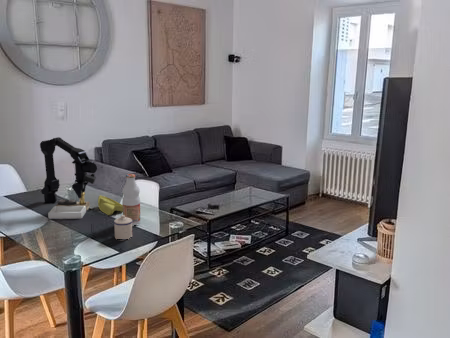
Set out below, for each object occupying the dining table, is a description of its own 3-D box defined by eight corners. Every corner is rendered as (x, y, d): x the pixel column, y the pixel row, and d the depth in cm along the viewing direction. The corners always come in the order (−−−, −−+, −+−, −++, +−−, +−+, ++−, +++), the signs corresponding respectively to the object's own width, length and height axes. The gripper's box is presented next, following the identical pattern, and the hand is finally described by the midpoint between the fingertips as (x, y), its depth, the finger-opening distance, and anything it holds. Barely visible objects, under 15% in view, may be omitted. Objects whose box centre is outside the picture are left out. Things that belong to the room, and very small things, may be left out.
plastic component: (128, 208, 244) (114, 204, 236) (123, 219, 243) (109, 216, 236) (110, 198, 257) (97, 194, 249) (105, 209, 256) (92, 205, 249)
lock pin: (78, 209, 245) (77, 193, 243) (79, 207, 249) (79, 191, 247) (85, 209, 246) (84, 193, 243) (86, 207, 250) (85, 191, 247)
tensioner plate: (55, 210, 242) (55, 202, 241) (59, 206, 250) (59, 198, 248) (86, 210, 244) (86, 202, 243) (89, 206, 252) (89, 198, 250)
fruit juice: (119, 224, 224) (118, 175, 218) (132, 219, 231) (131, 172, 225) (131, 228, 219) (129, 178, 212) (144, 223, 226) (143, 174, 220)
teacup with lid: (136, 237, 207) (135, 215, 204) (121, 242, 200) (120, 220, 197) (122, 231, 215) (122, 210, 212) (107, 235, 208) (106, 214, 205)
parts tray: (48, 218, 228) (48, 213, 227) (54, 211, 240) (54, 206, 239) (81, 218, 230) (81, 212, 230) (86, 211, 242) (85, 206, 241)
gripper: (91, 175, 234) (92, 200, 238) (97, 167, 252) (98, 191, 256) (71, 174, 233) (72, 200, 236) (78, 167, 251) (80, 191, 254)
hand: (81, 196), depth 246 cm, fingers open, 9 cm apart
